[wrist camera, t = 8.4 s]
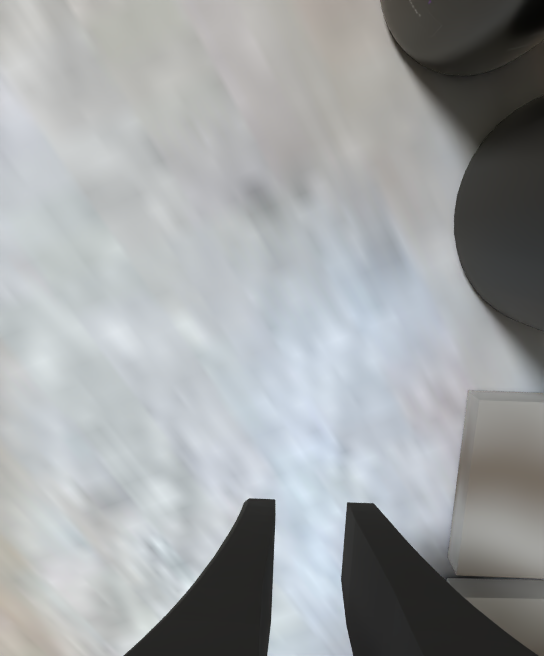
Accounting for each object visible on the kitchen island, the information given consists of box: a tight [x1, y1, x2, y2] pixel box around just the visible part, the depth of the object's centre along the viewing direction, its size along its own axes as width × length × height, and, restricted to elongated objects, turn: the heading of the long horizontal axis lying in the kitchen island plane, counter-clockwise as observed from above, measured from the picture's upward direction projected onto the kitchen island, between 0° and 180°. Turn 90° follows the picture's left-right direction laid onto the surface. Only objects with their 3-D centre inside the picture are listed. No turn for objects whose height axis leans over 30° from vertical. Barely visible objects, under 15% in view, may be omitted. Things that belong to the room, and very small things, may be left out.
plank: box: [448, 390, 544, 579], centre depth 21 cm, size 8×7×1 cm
